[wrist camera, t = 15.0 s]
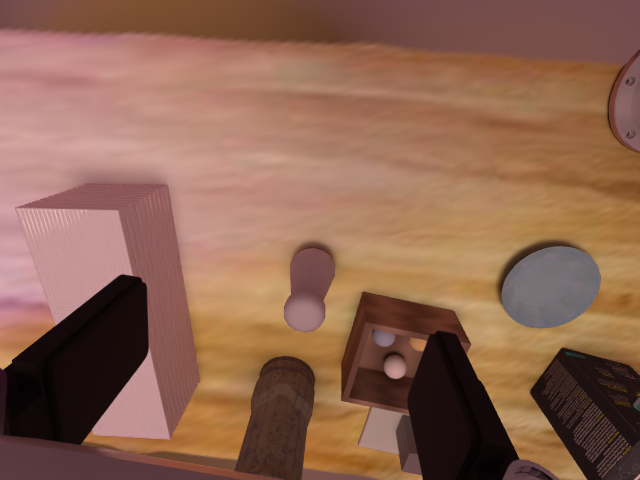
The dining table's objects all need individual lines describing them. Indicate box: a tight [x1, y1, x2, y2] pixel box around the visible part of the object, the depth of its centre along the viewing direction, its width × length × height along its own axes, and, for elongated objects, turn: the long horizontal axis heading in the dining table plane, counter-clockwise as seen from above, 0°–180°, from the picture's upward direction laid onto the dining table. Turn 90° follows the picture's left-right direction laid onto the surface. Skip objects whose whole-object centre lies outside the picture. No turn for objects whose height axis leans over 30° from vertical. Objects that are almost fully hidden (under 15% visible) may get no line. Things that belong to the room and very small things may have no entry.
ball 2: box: [384, 355, 406, 379], centre depth 49 cm, size 3×3×3 cm
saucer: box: [501, 246, 601, 328], centre depth 45 cm, size 12×12×2 cm
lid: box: [358, 407, 422, 475], centre depth 53 cm, size 14×14×8 cm
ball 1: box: [372, 329, 396, 347], centre depth 47 cm, size 3×3×3 cm
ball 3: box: [409, 337, 427, 351], centre depth 47 cm, size 3×3×3 cm
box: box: [341, 292, 471, 414], centre depth 47 cm, size 13×13×7 cm
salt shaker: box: [284, 247, 335, 332], centre depth 40 cm, size 6×6×13 cm
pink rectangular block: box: [15, 184, 200, 439], centre depth 45 cm, size 32×11×11 cm, turn 0°
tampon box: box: [530, 348, 640, 480], centre depth 44 cm, size 11×9×15 cm
